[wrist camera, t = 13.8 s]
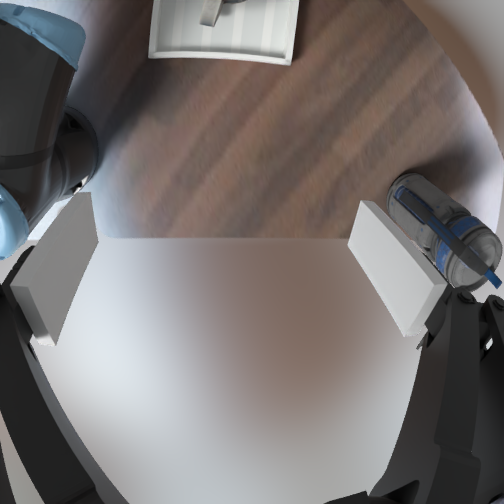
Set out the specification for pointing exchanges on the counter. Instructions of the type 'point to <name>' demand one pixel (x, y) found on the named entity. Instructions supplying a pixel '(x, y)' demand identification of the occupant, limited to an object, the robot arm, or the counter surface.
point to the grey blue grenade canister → (445, 232)
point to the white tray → (225, 31)
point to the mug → (213, 11)
